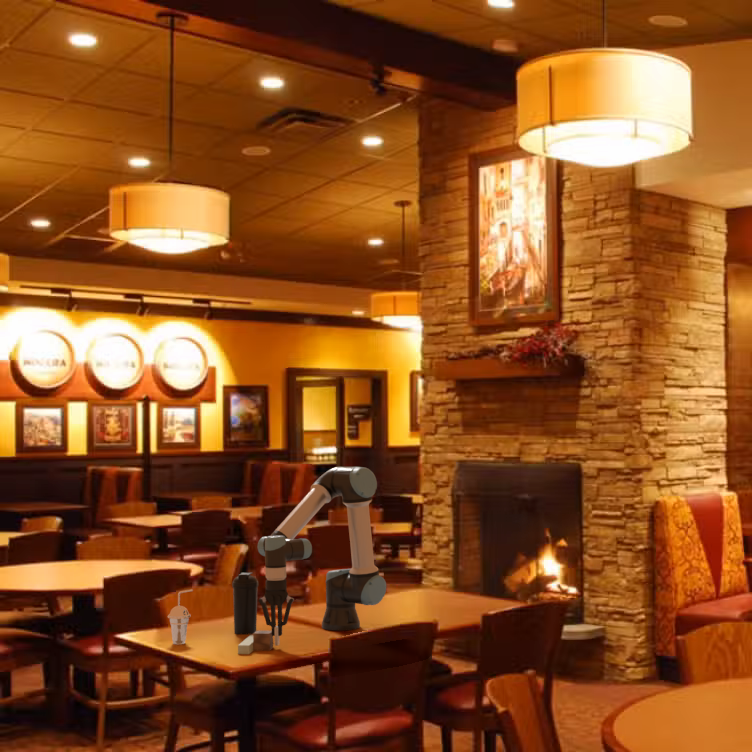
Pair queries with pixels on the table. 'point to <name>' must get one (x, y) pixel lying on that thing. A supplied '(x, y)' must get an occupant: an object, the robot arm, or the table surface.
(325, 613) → the robot arm
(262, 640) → the block
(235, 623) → the water bottle
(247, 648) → the cream rectangular bar
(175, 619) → the cup with straw
